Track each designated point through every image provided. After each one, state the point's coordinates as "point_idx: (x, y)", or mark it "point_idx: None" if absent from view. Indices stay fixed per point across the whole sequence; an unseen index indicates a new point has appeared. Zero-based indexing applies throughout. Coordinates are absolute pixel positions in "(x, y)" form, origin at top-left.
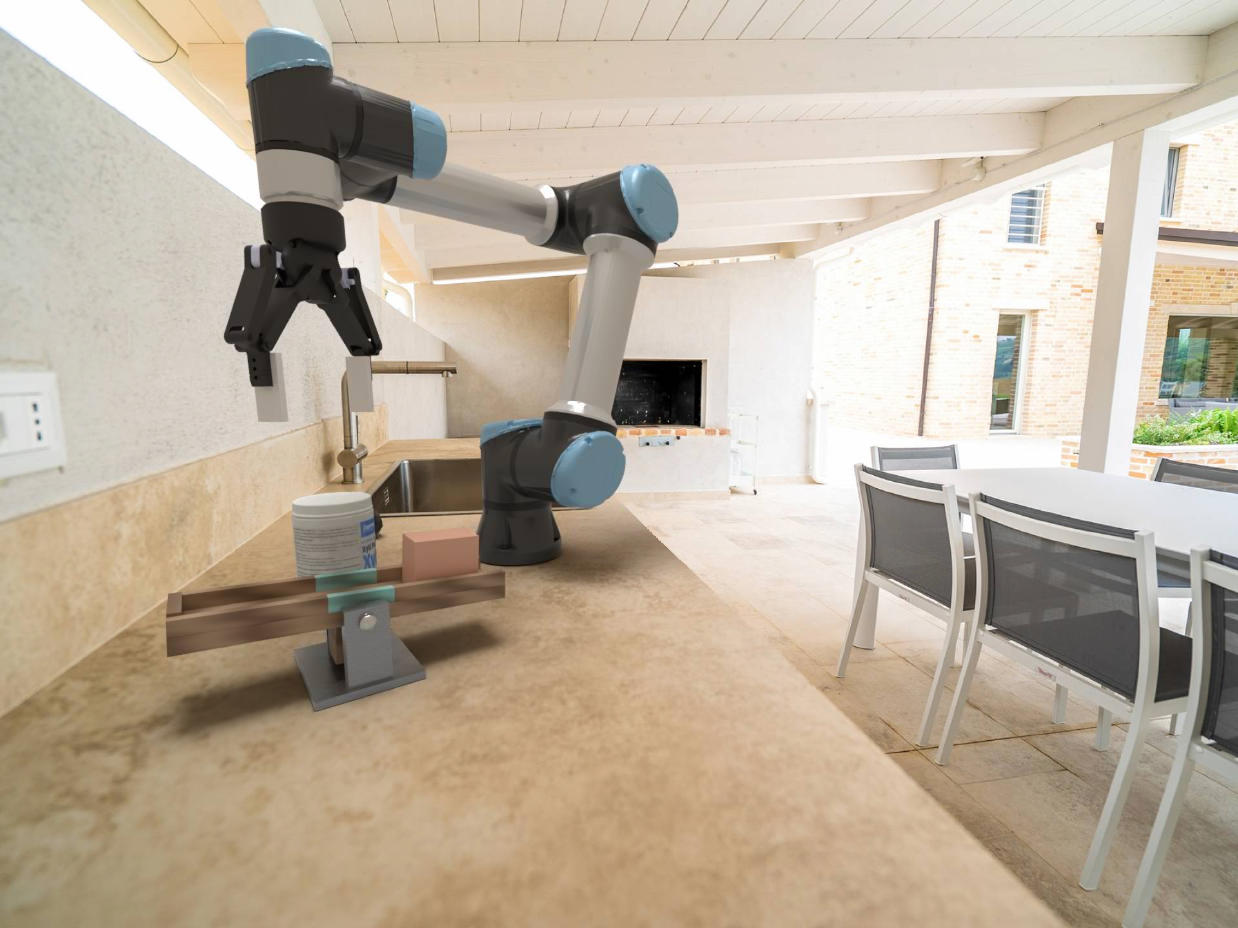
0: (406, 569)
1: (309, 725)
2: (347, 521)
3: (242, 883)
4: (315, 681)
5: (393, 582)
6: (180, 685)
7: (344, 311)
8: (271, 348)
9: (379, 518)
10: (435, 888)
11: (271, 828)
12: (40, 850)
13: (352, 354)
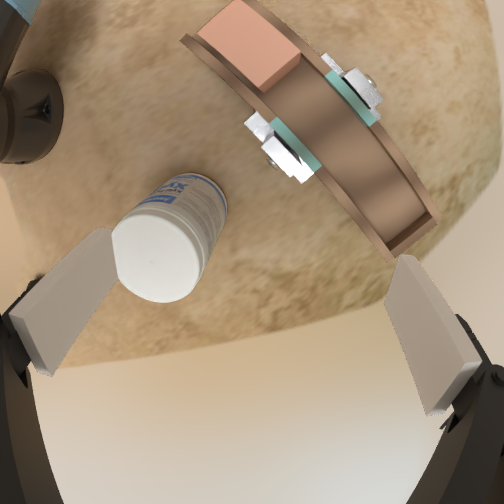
0: (275, 80)
1: (395, 112)
2: (184, 214)
3: (489, 89)
4: None
5: (269, 101)
6: (349, 236)
7: (24, 501)
8: (491, 371)
9: (30, 284)
10: (479, 15)
11: (468, 91)
12: (477, 187)
13: (28, 369)
